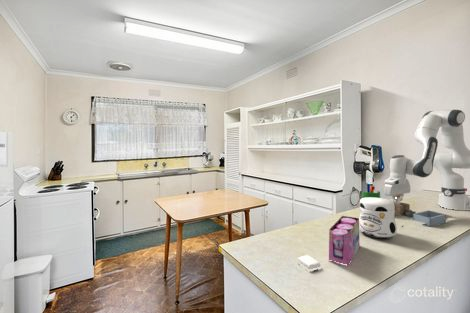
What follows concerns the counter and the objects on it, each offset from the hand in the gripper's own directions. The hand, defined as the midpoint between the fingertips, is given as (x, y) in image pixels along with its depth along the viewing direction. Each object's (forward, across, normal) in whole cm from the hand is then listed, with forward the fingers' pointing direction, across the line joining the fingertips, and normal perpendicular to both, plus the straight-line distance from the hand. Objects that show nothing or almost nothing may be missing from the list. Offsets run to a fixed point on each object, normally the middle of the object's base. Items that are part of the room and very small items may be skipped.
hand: (397, 201), depth 152 cm
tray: (+9, -1, +18) cm, 20 cm away
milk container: (+9, +41, +16) cm, 45 cm away
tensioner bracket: (+9, 0, +3) cm, 10 cm away
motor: (+9, +15, -7) cm, 19 cm away
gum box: (+9, +72, +24) cm, 77 cm away
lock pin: (+8, 0, 0) cm, 8 cm away
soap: (+10, +94, +26) cm, 98 cm away
